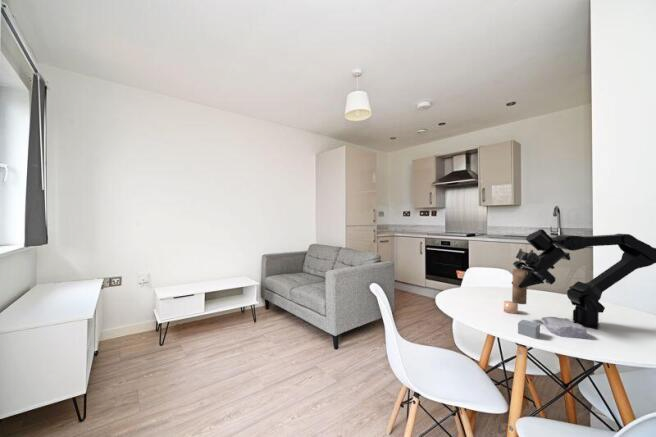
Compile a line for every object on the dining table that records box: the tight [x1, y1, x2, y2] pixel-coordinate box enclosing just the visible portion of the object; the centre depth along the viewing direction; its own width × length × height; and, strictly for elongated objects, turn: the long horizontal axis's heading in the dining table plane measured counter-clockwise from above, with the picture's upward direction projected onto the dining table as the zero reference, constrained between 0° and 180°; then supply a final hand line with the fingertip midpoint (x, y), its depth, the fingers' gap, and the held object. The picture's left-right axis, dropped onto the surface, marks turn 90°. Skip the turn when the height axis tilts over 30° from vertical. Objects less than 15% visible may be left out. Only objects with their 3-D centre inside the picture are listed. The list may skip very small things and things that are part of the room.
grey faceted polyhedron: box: [517, 319, 541, 339], centre depth 92 cm, size 5×5×4 cm
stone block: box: [540, 316, 588, 339], centre depth 96 cm, size 12×5×10 cm
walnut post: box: [511, 268, 528, 305], centre depth 105 cm, size 5×5×13 cm
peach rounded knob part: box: [503, 300, 519, 315], centre depth 114 cm, size 5×5×4 cm
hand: (515, 285), depth 106 cm, fingers closed on walnut post, 5 cm apart
